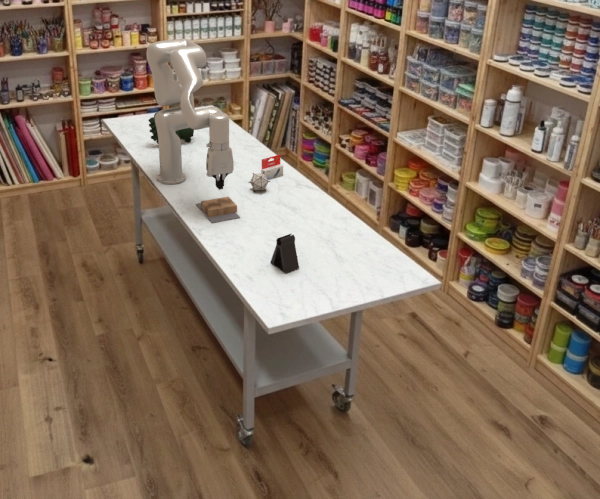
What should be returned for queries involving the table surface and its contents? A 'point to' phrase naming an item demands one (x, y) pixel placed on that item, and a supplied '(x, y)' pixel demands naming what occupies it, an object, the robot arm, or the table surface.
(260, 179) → the game die
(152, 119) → the toy figurine
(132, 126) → the table surface
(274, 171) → the ink cartridge box
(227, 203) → the walnut slab
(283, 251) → the phone stand
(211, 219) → the mat
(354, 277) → the table surface
